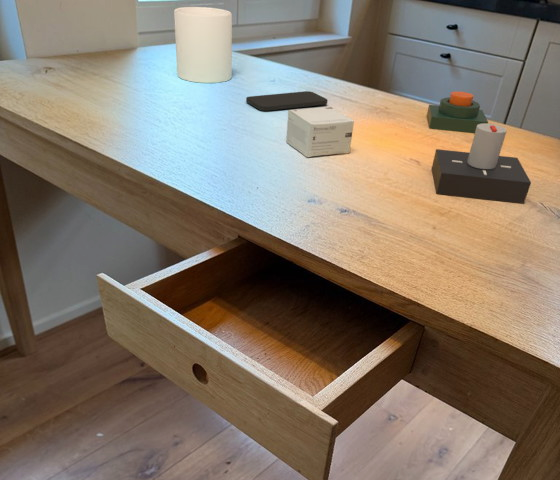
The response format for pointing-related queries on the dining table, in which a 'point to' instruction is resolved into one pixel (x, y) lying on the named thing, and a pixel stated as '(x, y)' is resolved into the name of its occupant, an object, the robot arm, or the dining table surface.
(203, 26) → the cup
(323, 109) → the small box
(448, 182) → the control panel
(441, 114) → the button block
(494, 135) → the knob
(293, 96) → the phone
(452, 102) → the button
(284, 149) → the dining table surface
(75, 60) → the dining table surface
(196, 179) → the dining table surface
